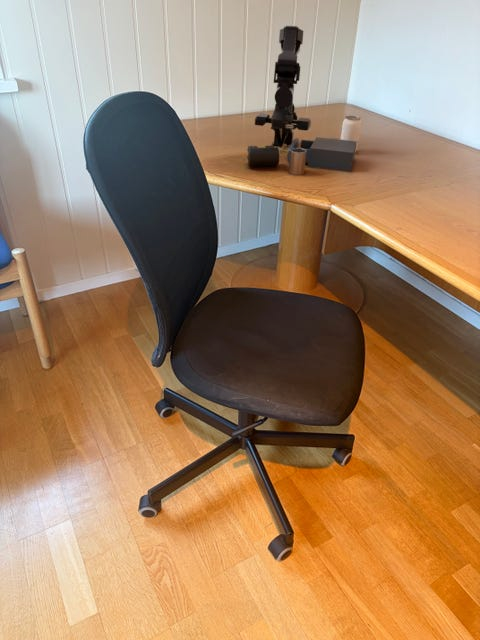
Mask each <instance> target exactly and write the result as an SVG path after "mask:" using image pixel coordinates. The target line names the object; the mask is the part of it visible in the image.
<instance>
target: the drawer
mask: <svg viewBox="0 0 480 640" xmlns="http://www.w3.org/2000/svg"><path fill="white" fill-rule="evenodd" d="M299 140H300V139H299V137H295V138H293V142H292V144H291V145H290V146H288V145H287V144H284V145H283V146H282V148H286V149H292V148H299ZM314 141H315V140H310V139H301V140H300V148H303V149H305V150H307V152H306V161H305V163H309V154H310V147H311V146H312V144H313V142H314ZM282 148H281V147H280V149H279V154H283V153H287V162H288V163H289V157H290V151H286V150H281V149H282Z"/></svg>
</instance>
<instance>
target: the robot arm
mask: <svg viewBox="0 0 480 640" xmlns="http://www.w3.org/2000/svg"><path fill="white" fill-rule="evenodd" d="M303 41H304V30H303V29H301V28H300V27H299V26H297V25H286V26H284V27H282V28H281V29H279V35H278V44H280V52H281V53H279V54H278V57H277V61H275V64H274V71H273V72H274V74H273V84H276V90H275V94H274V101H275V104H274V105H275V106H274V110H273V112H272V115H271V116H270V114H268V113H258V114H257V115H256V116H255V117H254V125H255V126H259V127H263V126H264V125H266V124H271V125H270V126H271V127H270V130H273V131H274V137H273V143H272V146H274V147H278V148H280V149H281V148H282V146H283V145H284V144H287V145H288V146H290V145H291V144H292V142H293V141H294V133H295V132H294V131H295V130H296V129H297V130H299V131H305V132H306V131H309V129H310V128H311V125H312V120H311V118H309V117H299V118H298V115H297V112H296V111H295V108H296V106H295V104H294V93H295V92H294V90H295V85H298V82H299V81H300V77H301V66H300V62H298V54H300V52H301V45H303ZM293 130H294V131H293Z"/></svg>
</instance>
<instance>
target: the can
mask: <svg viewBox="0 0 480 640" xmlns="http://www.w3.org/2000/svg"><path fill="white" fill-rule="evenodd" d="M361 125H362V121H361V117H360V116H355V115H345V116H344V119H343V121H342V126H341V132H340V133H341V134H340V140H348V141H357V144H356V150H355V153H357V150H358V145H359V139H360V132H361Z"/></svg>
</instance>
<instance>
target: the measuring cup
mask: <svg viewBox="0 0 480 640" xmlns="http://www.w3.org/2000/svg"><path fill="white" fill-rule="evenodd" d="M280 149H281V148H280ZM281 150H286V151H290V157H289V162H288V170H287V172H288V173H289V174H290V175H293V176H301V175H304V174H305V169H306V162H305V161H306V152H307V150H305V149H303V148H301V147H298V148H292V149H289V148H287V147H286V148H282V149H281Z"/></svg>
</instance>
